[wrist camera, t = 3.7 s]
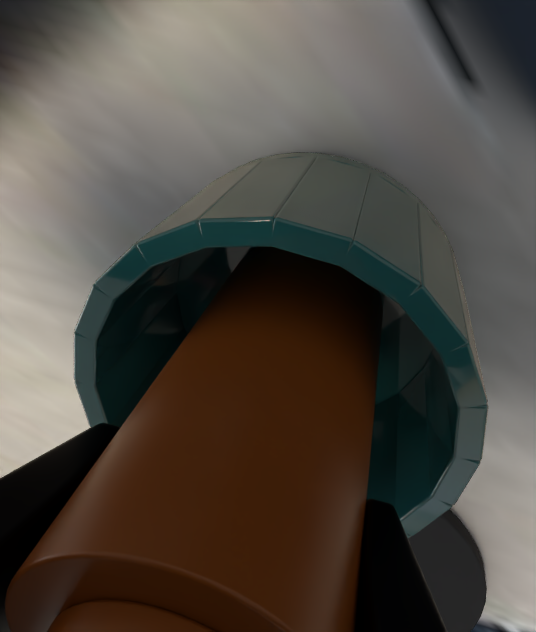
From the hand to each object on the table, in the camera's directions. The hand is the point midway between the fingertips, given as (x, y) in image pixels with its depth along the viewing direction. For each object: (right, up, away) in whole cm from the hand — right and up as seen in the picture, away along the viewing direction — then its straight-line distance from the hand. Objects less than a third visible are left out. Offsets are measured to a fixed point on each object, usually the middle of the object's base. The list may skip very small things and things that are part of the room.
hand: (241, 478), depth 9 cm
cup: (+2, +3, +6) cm, 6 cm away
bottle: (+1, +3, +5) cm, 6 cm away
